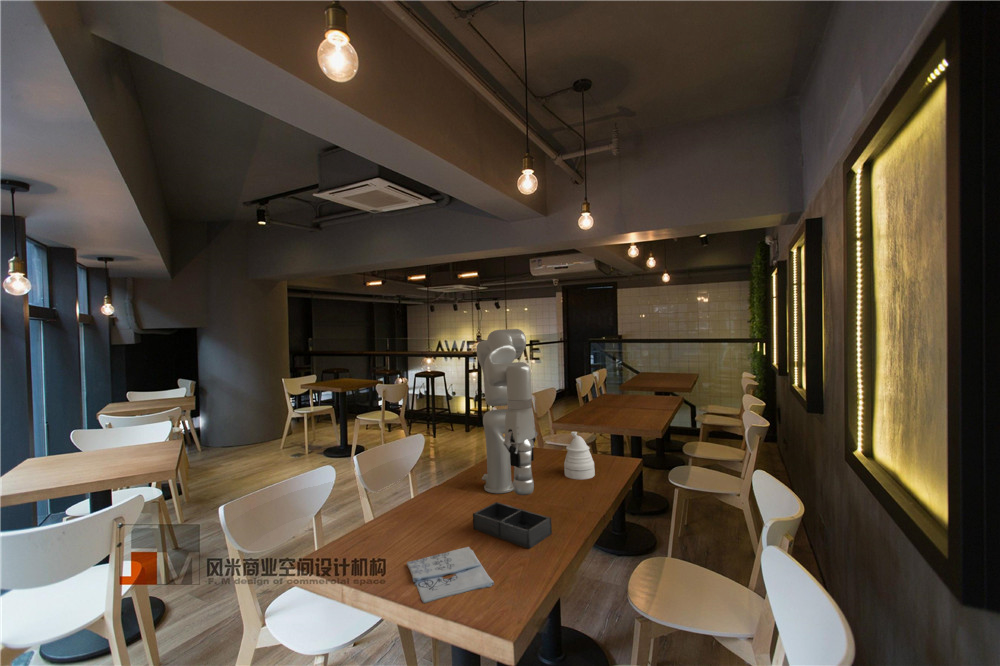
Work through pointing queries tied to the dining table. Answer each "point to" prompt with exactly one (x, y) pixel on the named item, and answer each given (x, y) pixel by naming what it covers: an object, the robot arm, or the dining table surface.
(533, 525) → the divided tray
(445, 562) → the folded bicycle print cloth
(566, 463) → the honey pot
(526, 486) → the grey stacked bottle
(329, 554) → the dining table surface
